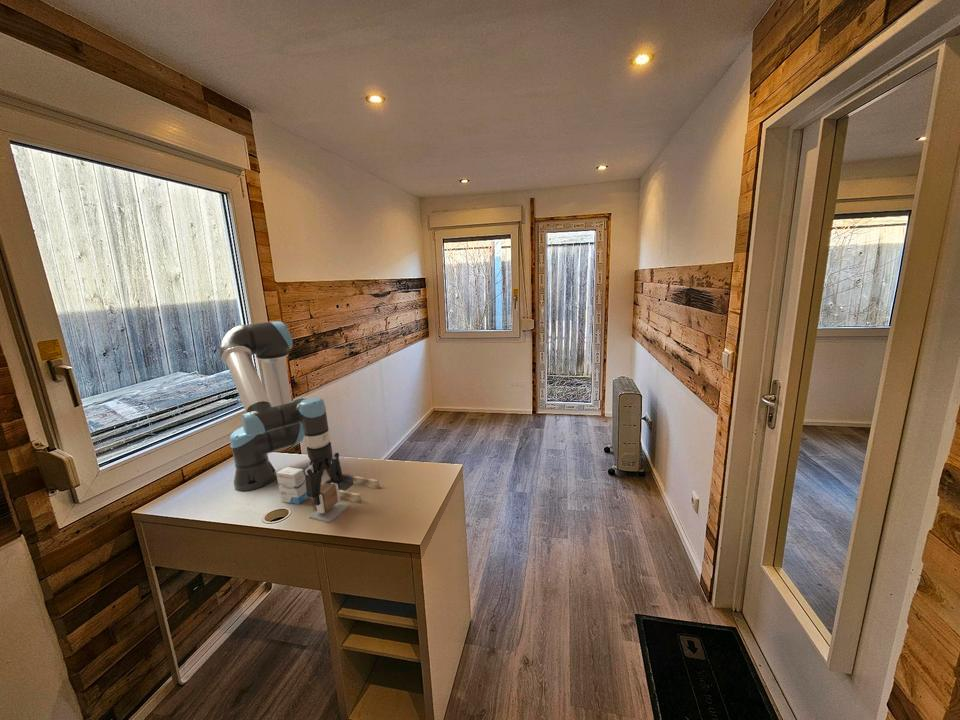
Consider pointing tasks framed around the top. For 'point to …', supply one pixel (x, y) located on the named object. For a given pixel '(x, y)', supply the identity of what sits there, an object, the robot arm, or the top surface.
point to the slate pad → (330, 513)
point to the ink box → (292, 485)
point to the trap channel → (351, 480)
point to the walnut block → (327, 496)
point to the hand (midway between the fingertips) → (329, 505)
